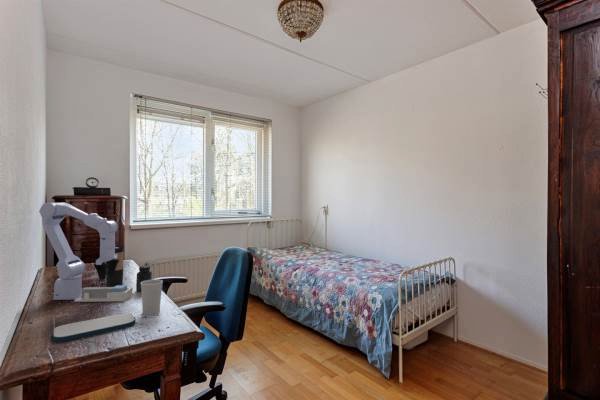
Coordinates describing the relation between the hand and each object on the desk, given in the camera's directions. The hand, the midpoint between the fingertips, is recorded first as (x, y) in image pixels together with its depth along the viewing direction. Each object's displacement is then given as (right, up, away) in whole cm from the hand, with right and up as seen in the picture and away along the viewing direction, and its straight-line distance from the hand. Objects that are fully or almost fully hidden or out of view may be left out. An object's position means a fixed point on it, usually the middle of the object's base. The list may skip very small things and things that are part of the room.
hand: (106, 277), depth 138 cm
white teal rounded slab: (+16, -11, -32) cm, 37 cm away
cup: (+28, -10, -15) cm, 33 cm away
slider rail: (0, -9, 0) cm, 9 cm away
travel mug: (-8, -9, +19) cm, 23 cm away
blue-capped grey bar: (0, -9, 0) cm, 9 cm away
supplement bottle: (+11, -10, +12) cm, 19 cm away
